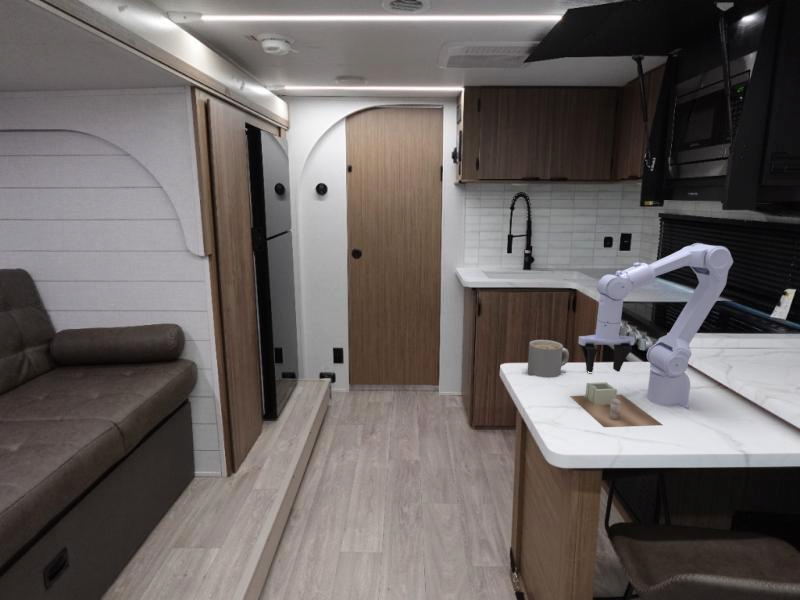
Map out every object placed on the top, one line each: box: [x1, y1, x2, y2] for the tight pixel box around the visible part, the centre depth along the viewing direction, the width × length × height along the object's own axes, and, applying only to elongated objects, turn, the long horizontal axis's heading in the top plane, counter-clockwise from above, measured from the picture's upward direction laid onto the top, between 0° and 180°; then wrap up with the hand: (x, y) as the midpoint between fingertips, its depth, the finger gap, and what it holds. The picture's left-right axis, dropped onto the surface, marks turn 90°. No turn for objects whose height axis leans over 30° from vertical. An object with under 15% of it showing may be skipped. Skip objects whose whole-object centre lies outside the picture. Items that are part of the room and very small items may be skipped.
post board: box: [569, 394, 663, 428], centre depth 129 cm, size 15×19×6 cm
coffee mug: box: [526, 339, 570, 379], centre depth 156 cm, size 13×10×10 cm
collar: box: [584, 381, 618, 405], centre depth 134 cm, size 6×6×4 cm
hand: (602, 370), depth 133 cm, fingers open, 7 cm apart
